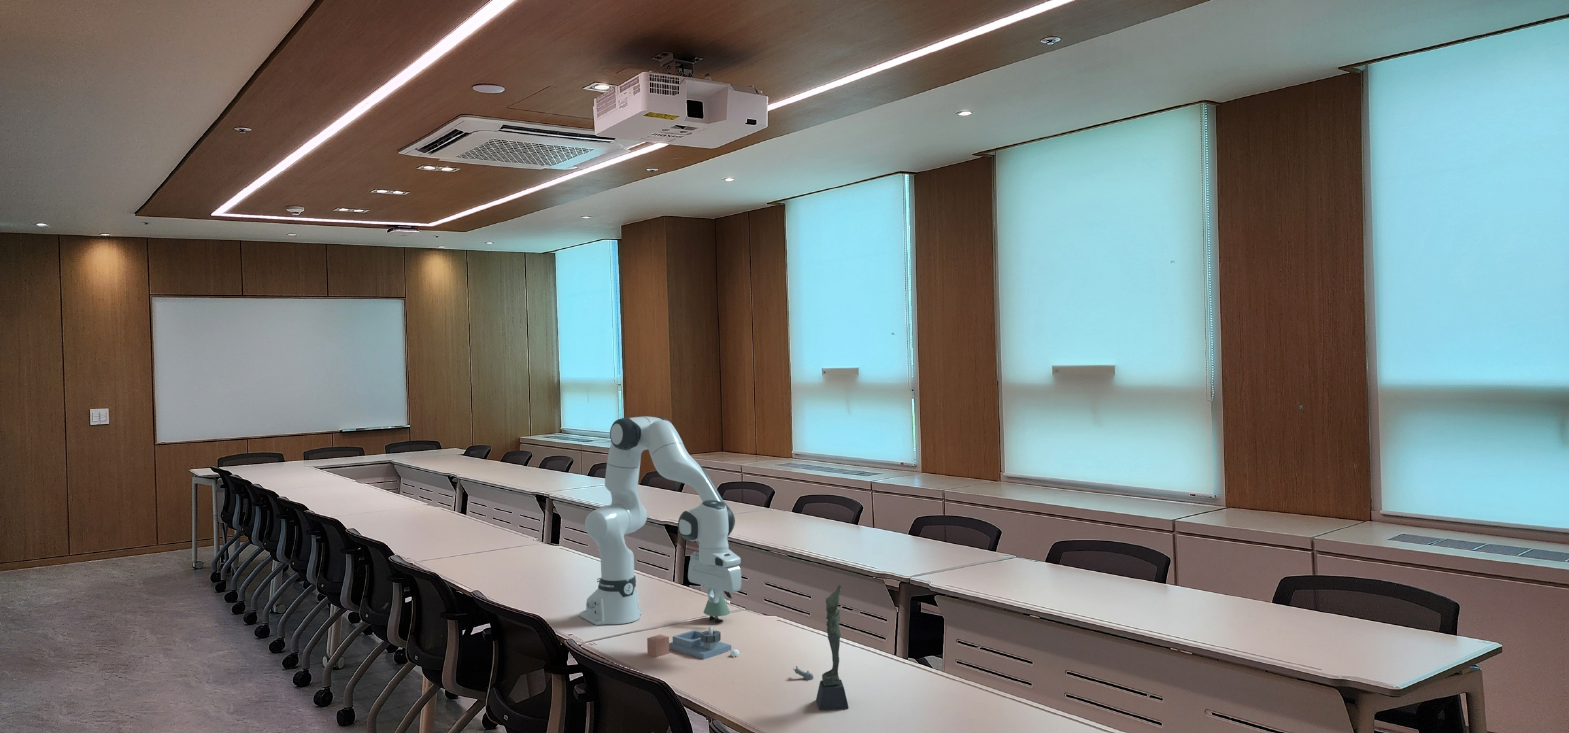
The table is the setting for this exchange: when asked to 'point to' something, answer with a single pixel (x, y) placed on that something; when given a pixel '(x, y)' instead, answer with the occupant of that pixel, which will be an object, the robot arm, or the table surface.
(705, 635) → the wheel
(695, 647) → the chassis
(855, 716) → the table surface
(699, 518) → the robot arm
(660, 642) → the brown small block
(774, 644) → the table surface
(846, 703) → the statue
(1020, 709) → the table surface
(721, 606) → the character figurine
